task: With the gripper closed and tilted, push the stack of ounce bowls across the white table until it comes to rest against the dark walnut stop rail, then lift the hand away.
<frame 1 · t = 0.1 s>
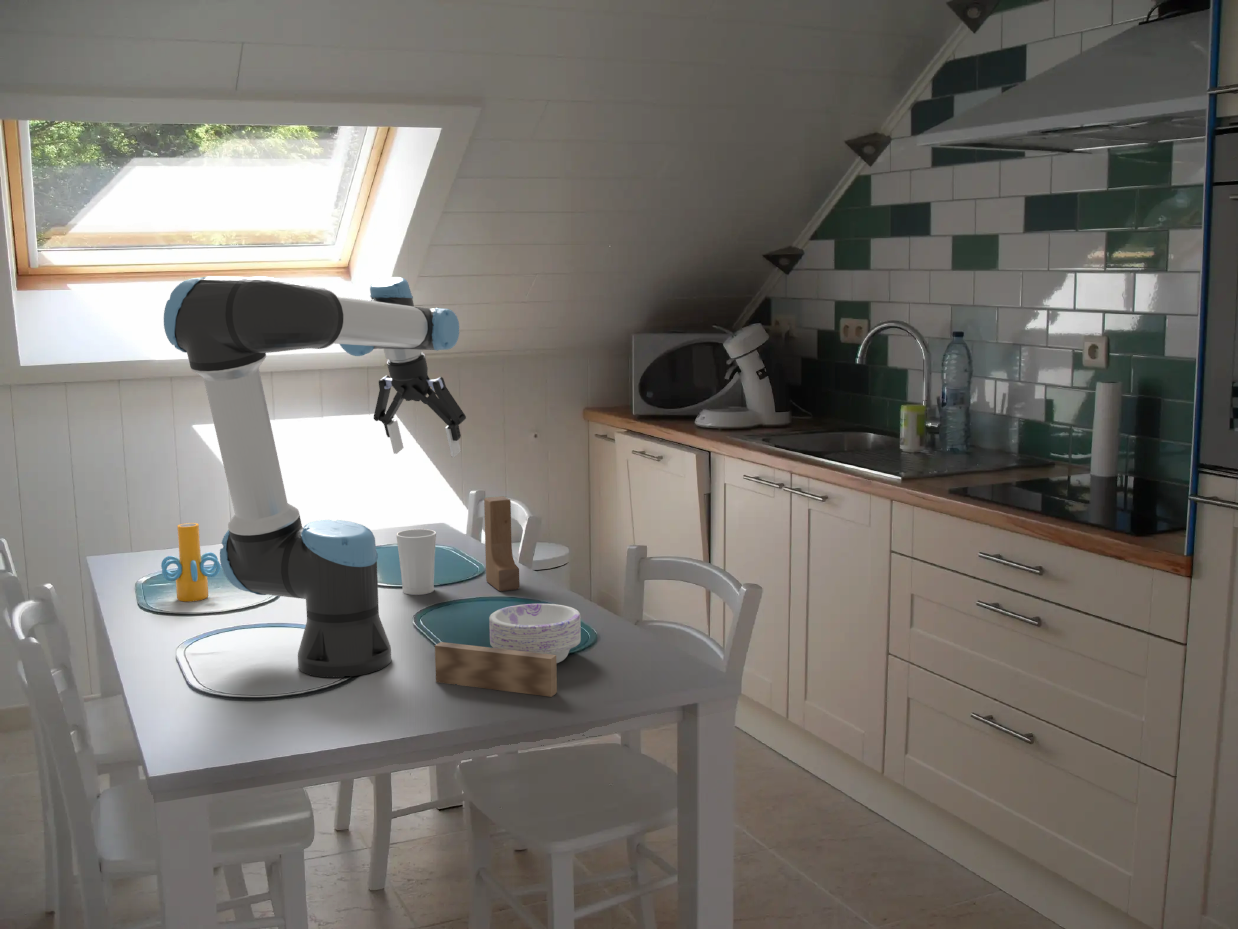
hand: (427, 452, 244), 28 cm above the table, tool tilted 20°, fingers open, 13 cm apart
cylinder: (193, 599, 240), on the table
cup: (418, 591, 244), on the table
wooden block: (502, 586, 248), on the table
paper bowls: (535, 660, 201), on the table
stop rail: (495, 687, 187), on the table
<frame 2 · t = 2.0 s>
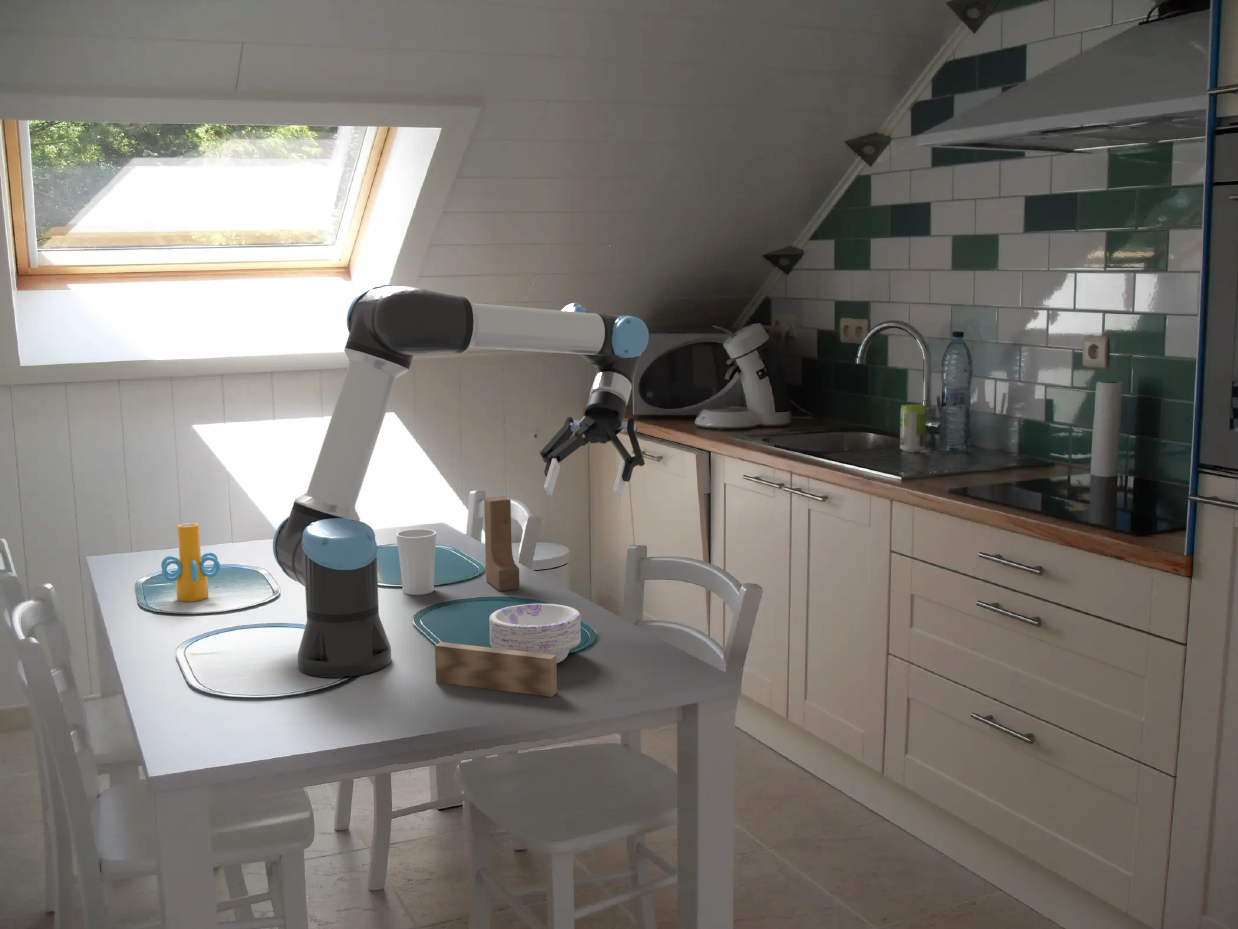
hand: (581, 493, 219), 24 cm above the table, tool tilted 45°, fingers open, 13 cm apart
nothing on the table moved.
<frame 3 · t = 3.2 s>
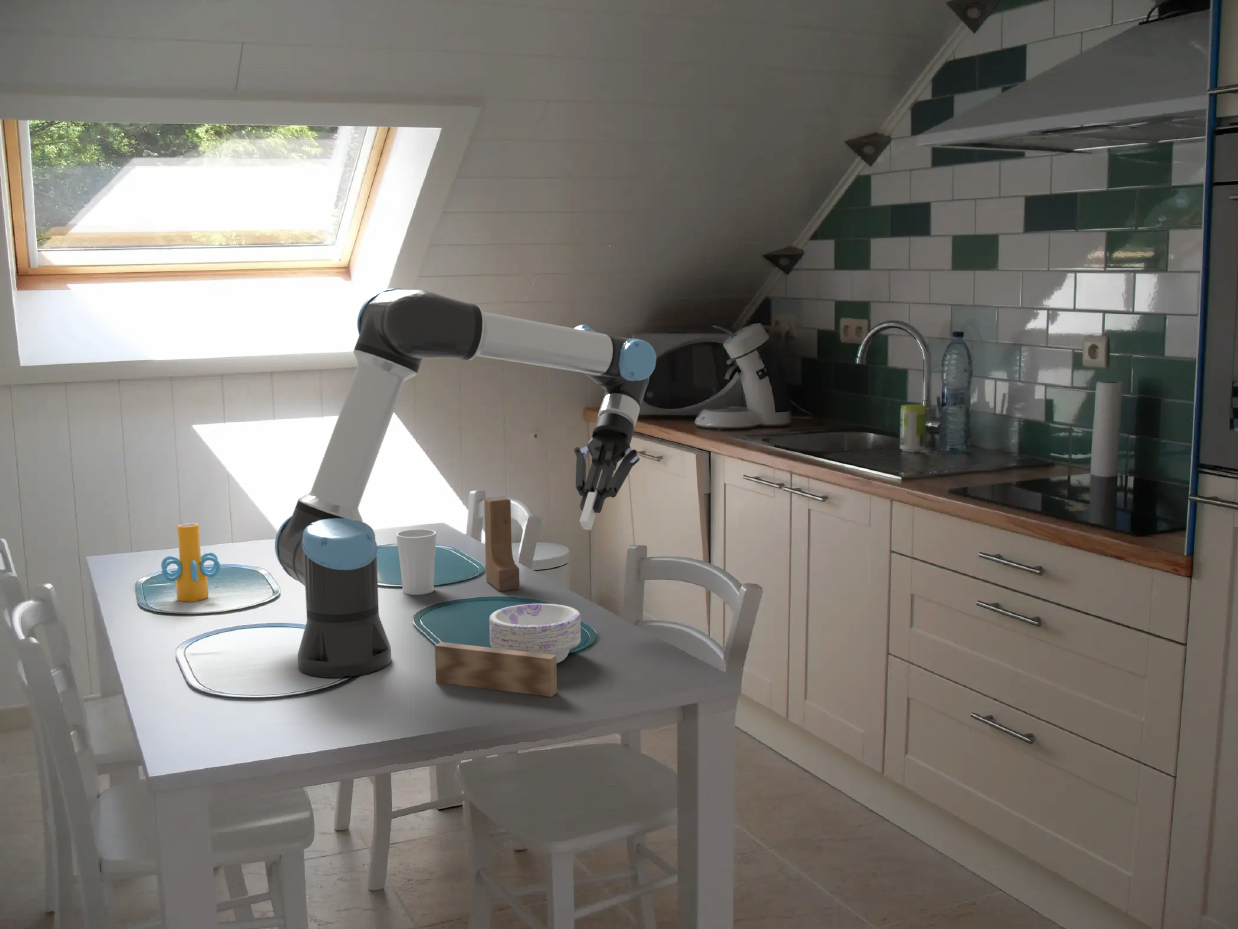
hand: (585, 525, 218), 18 cm above the table, tool tilted 45°, fingers closed
nothing on the table moved.
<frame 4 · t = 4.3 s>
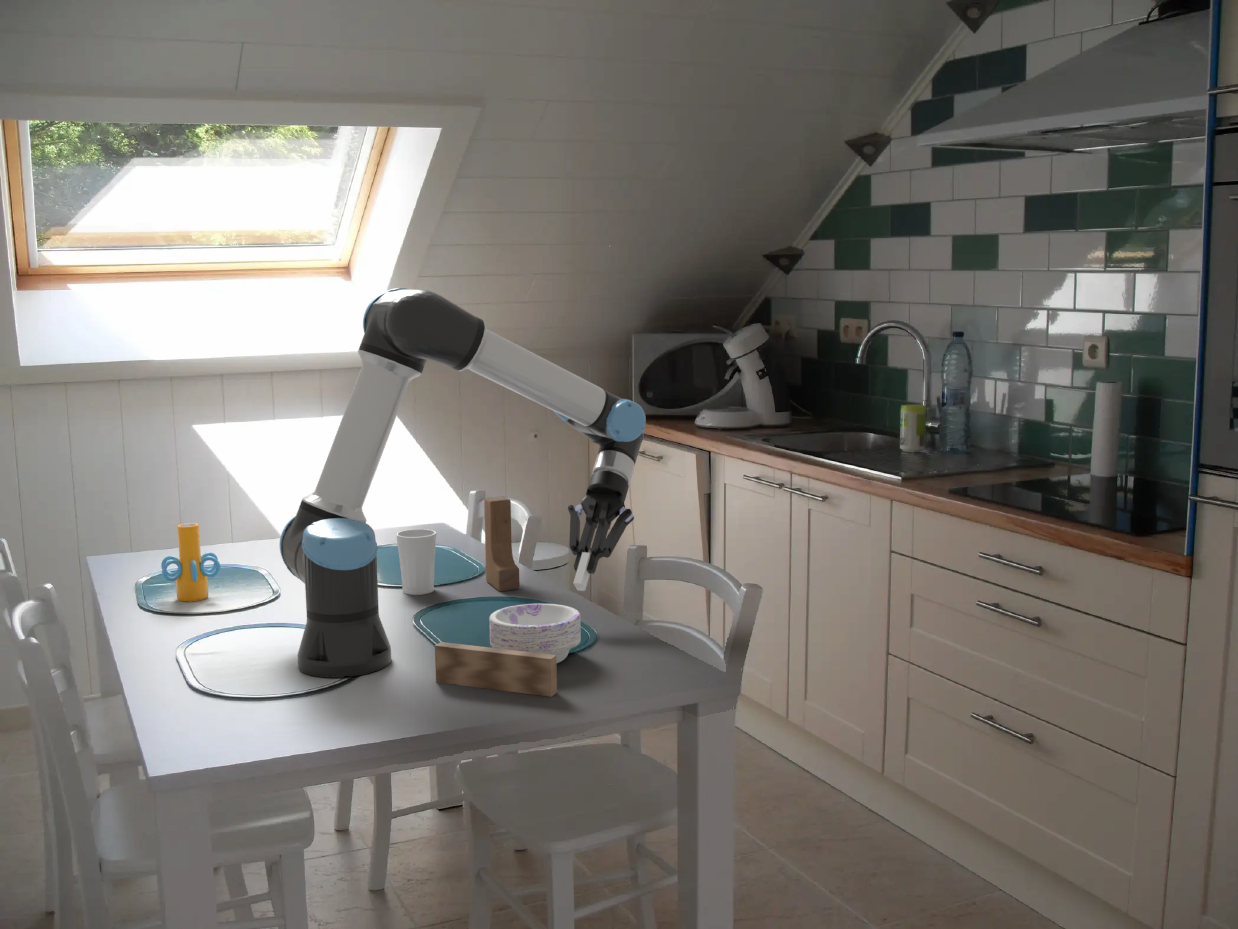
hand: (579, 587, 215), 8 cm above the table, tool tilted 45°, fingers closed
nothing on the table moved.
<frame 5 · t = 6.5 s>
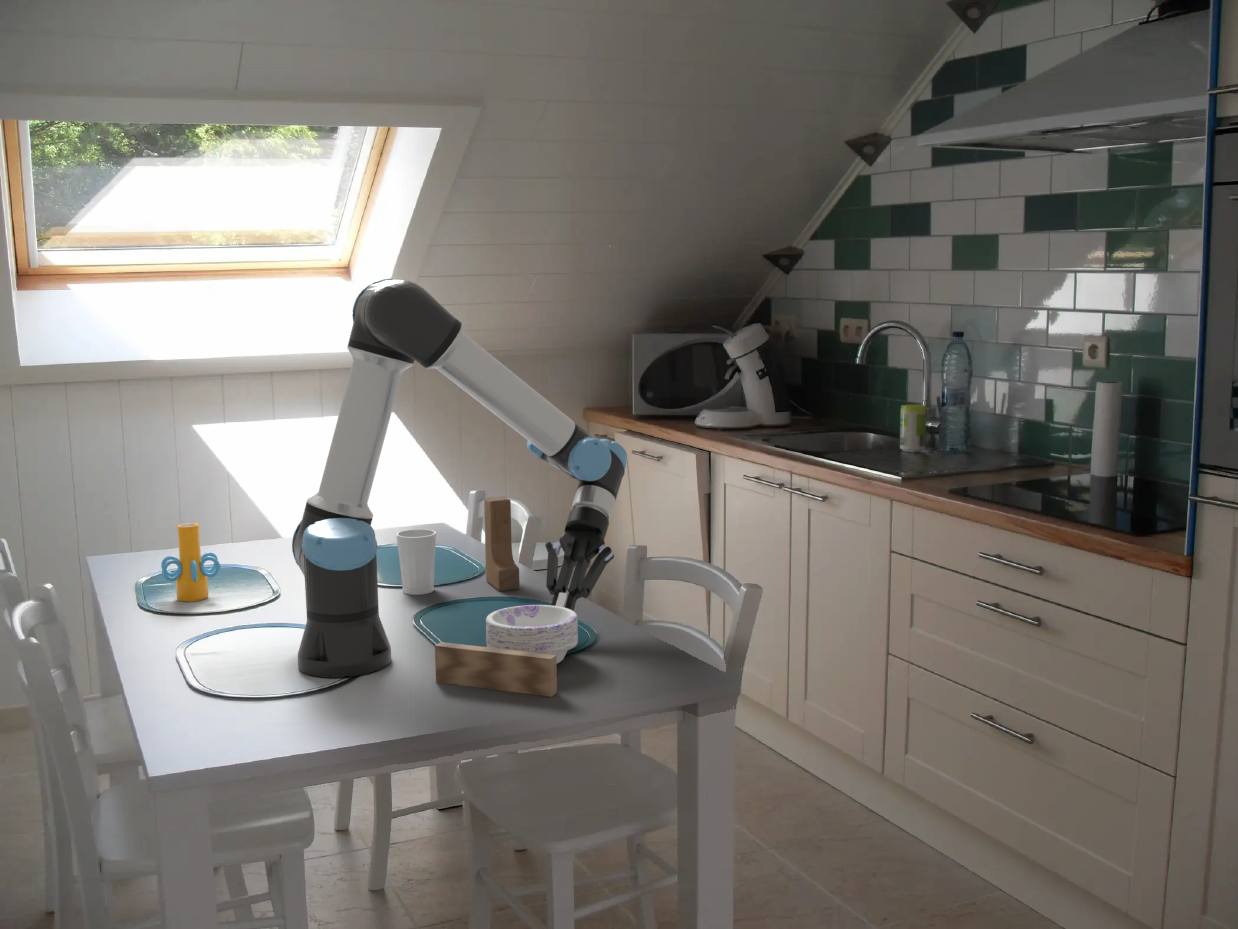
hand: (555, 629, 207), 3 cm above the table, tool tilted 45°, fingers closed
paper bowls: (532, 662, 199), on the table
everything else where it was.
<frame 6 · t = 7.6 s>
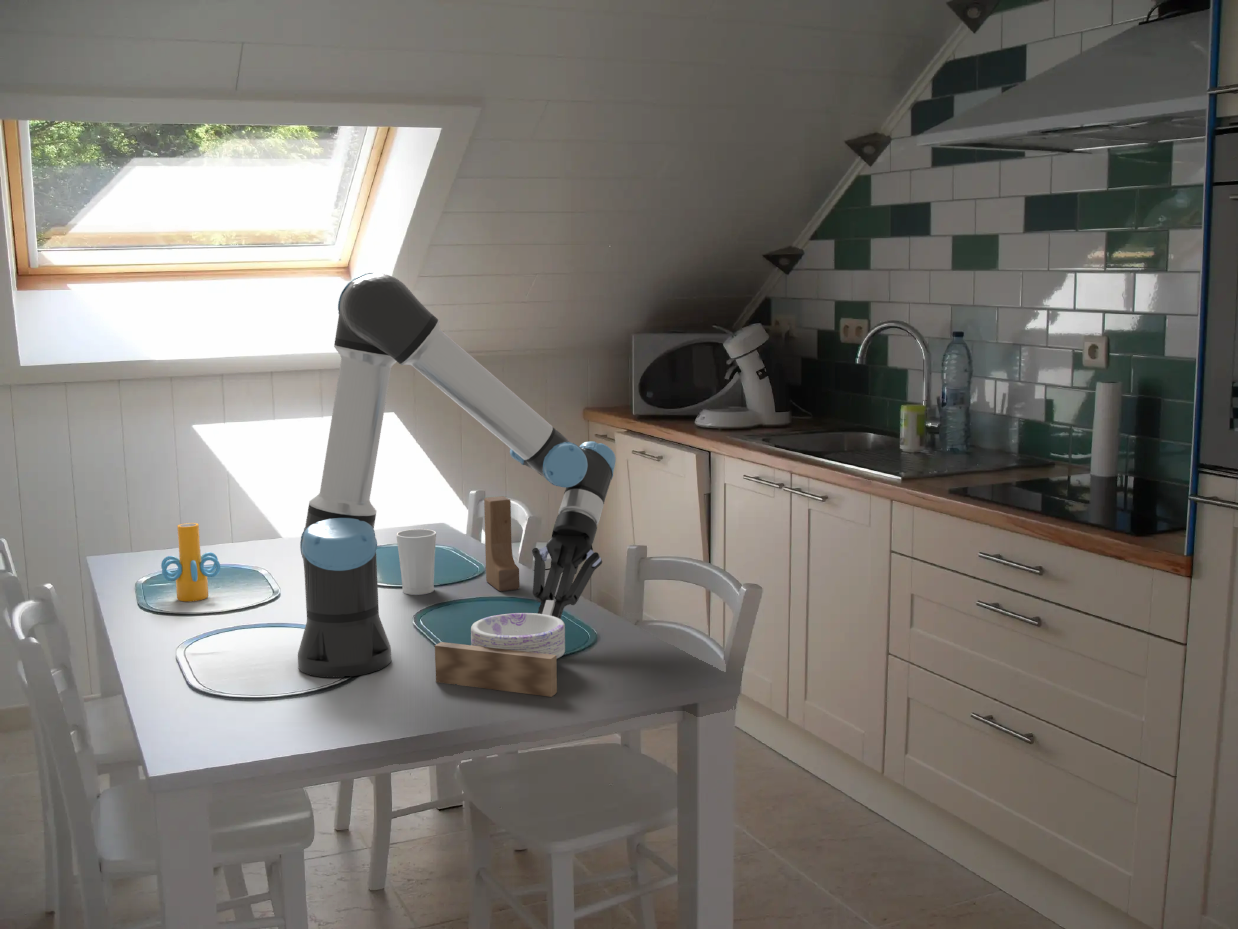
hand: (542, 637, 202), 3 cm above the table, tool tilted 45°, fingers closed
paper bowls: (518, 671, 195), on the table, touching gripper, stop rail
everything else where it was.
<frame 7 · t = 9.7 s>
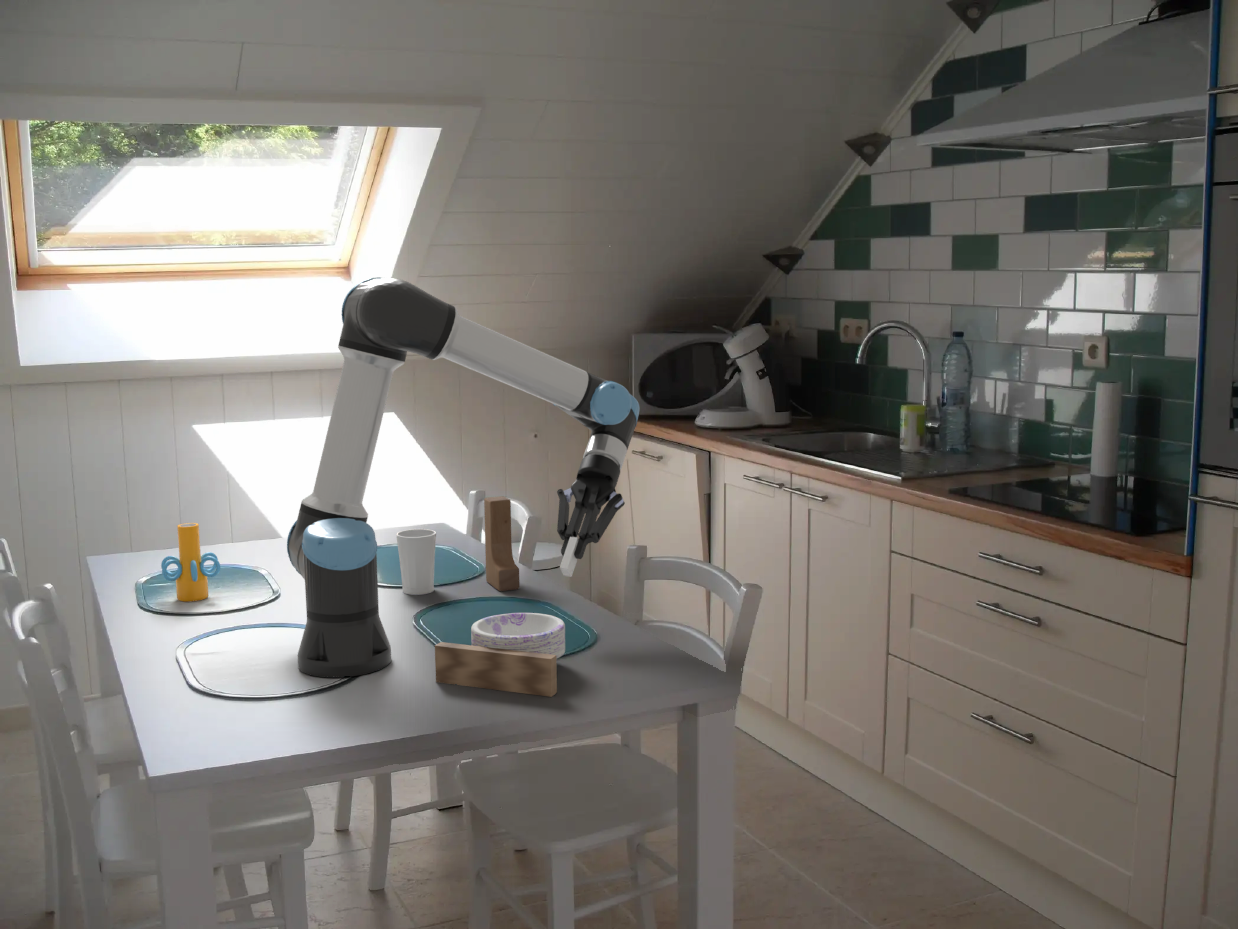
hand: (565, 572, 209), 12 cm above the table, tool tilted 45°, fingers closed
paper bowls: (519, 671, 195), on the table
everything else where it was.
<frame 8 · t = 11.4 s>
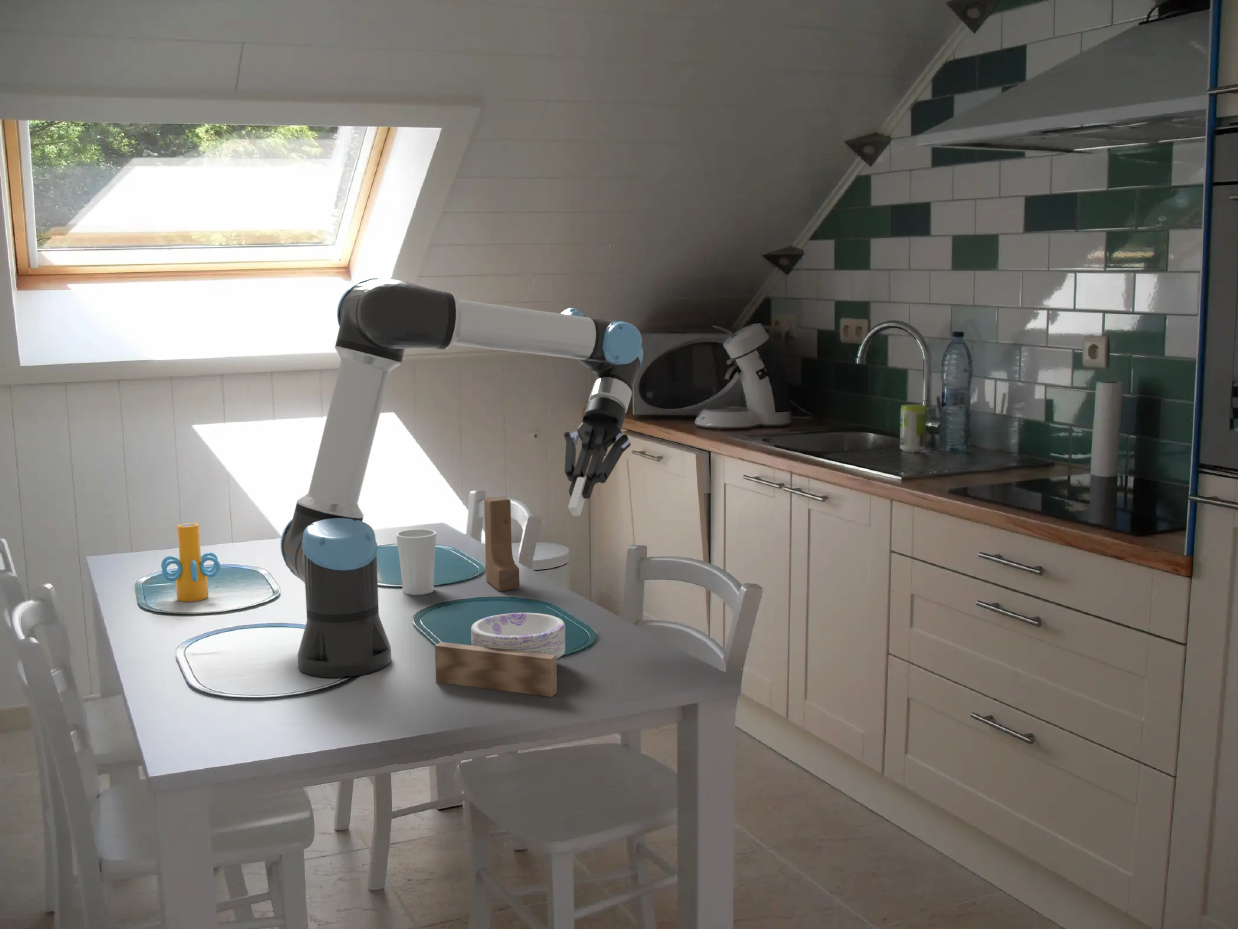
hand: (574, 511, 212), 22 cm above the table, tool tilted 45°, fingers closed
nothing on the table moved.
at the end: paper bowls 8.8 cm from the stop rail (horizontally); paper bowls moved 6.0 cm from its start; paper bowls tilted 0° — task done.
